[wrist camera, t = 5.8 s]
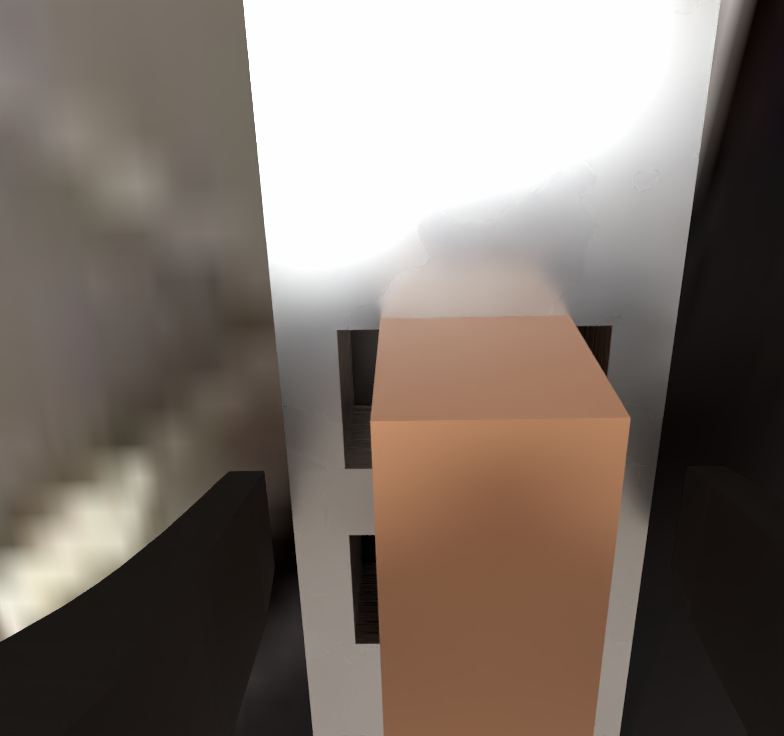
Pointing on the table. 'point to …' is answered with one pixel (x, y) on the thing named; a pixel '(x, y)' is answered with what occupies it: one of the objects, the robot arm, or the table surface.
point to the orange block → (493, 524)
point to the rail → (466, 245)
